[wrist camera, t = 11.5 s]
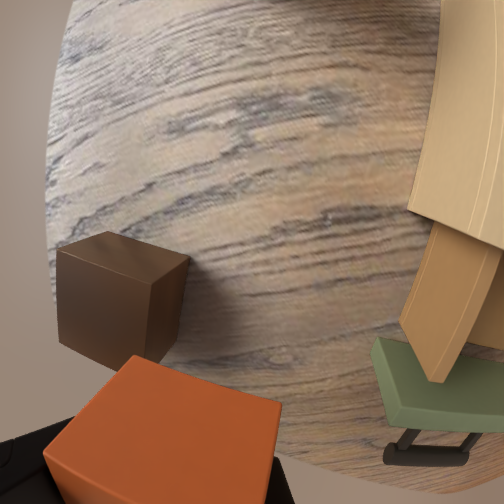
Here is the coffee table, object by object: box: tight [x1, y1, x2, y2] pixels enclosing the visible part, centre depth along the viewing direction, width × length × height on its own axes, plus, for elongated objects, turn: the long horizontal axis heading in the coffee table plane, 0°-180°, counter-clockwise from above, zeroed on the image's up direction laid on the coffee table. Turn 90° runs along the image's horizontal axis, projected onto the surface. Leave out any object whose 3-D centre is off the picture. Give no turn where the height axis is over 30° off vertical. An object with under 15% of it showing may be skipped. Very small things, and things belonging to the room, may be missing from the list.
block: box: [43, 355, 282, 504], centre depth 6 cm, size 4×4×4 cm
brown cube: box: [56, 231, 190, 372], centre depth 17 cm, size 6×6×5 cm
